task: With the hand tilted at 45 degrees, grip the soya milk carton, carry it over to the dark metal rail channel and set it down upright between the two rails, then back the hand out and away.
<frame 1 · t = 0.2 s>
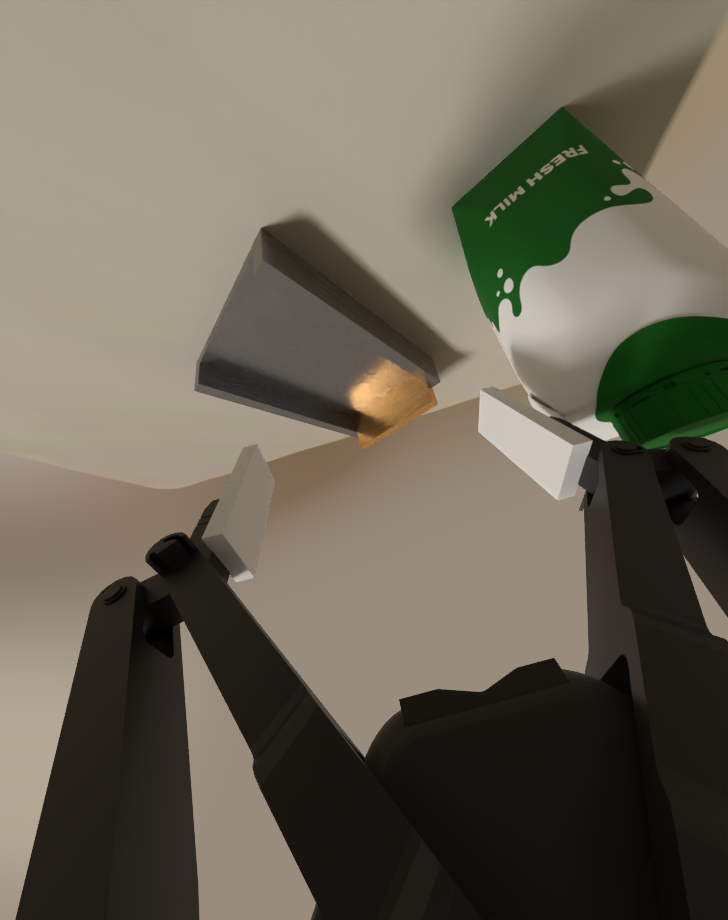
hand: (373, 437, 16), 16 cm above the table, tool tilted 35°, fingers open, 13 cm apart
rail channel: (325, 361, 30), on the table
soya milk: (509, 211, 20), on the table
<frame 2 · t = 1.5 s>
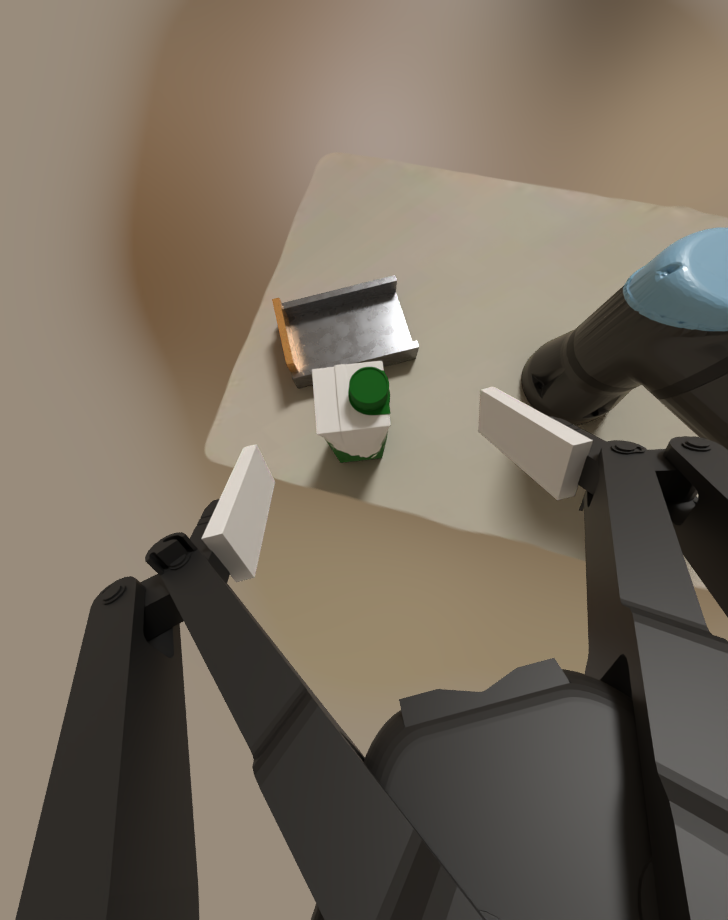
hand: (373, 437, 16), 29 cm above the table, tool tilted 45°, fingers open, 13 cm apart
rail channel: (347, 338, 50), on the table
soya milk: (358, 441, 46), on the table
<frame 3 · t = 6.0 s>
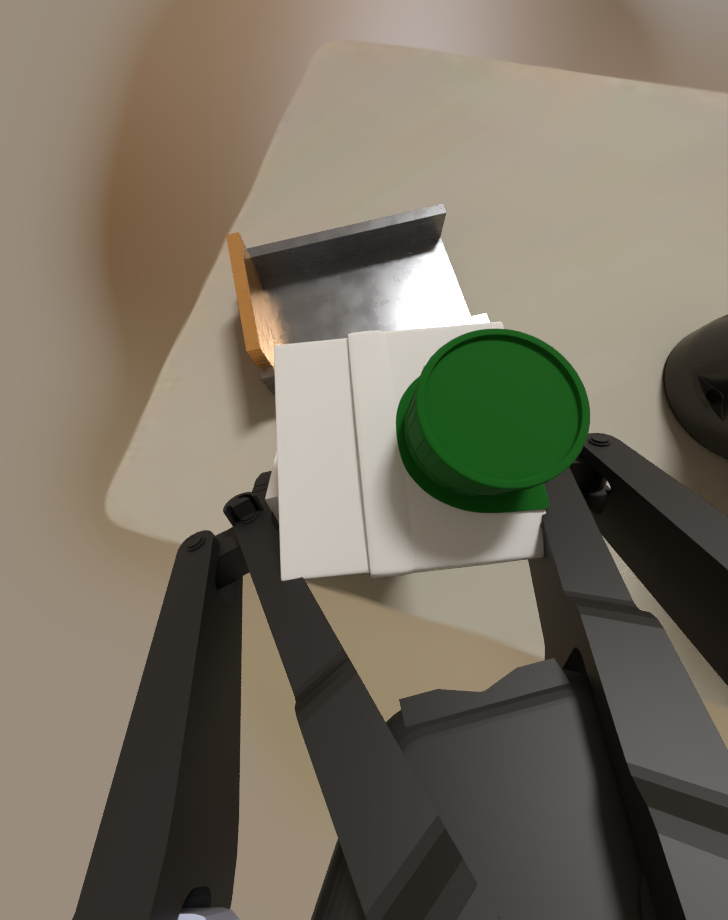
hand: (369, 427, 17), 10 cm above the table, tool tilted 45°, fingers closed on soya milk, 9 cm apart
rail channel: (359, 312, 30), on the table
soya milk: (379, 491, 26), on the table, touching gripper
when the fingers open (13 cm above the table, at t = 13.3 s): soya milk drops 2 cm, resting on rail channel.
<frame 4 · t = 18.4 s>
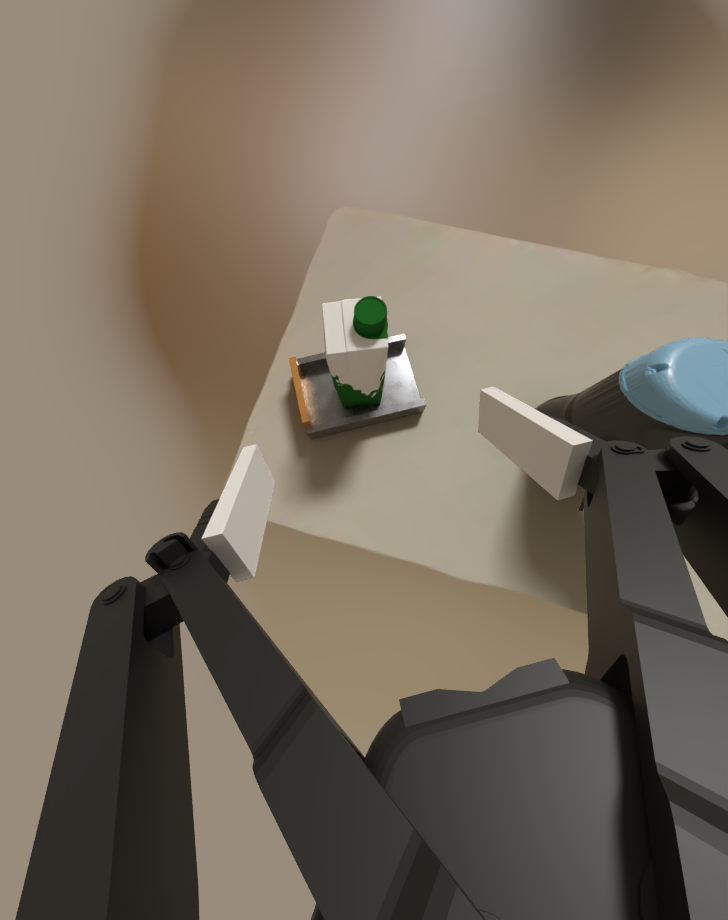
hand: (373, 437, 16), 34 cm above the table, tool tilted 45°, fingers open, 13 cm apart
rail channel: (358, 390, 53), on the table
soya milk: (359, 389, 52), point 1 cm above the table, touching rail channel
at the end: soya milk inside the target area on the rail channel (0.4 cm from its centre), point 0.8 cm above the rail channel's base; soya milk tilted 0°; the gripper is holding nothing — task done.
